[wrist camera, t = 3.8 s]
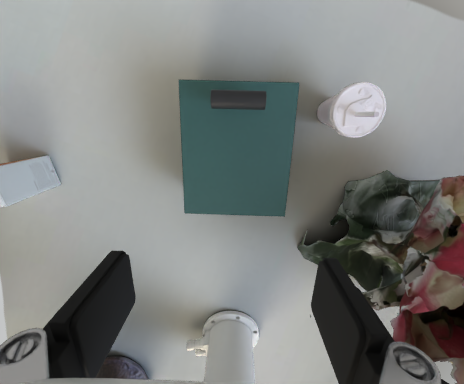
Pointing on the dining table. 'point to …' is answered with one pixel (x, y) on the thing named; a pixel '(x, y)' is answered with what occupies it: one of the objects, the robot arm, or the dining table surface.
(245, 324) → the robot arm
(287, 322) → the dining table surface
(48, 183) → the small box
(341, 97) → the smoothie
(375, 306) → the rose bouquet
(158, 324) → the dining table surface
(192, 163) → the bin lid
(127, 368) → the decorative urn
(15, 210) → the dining table surface
